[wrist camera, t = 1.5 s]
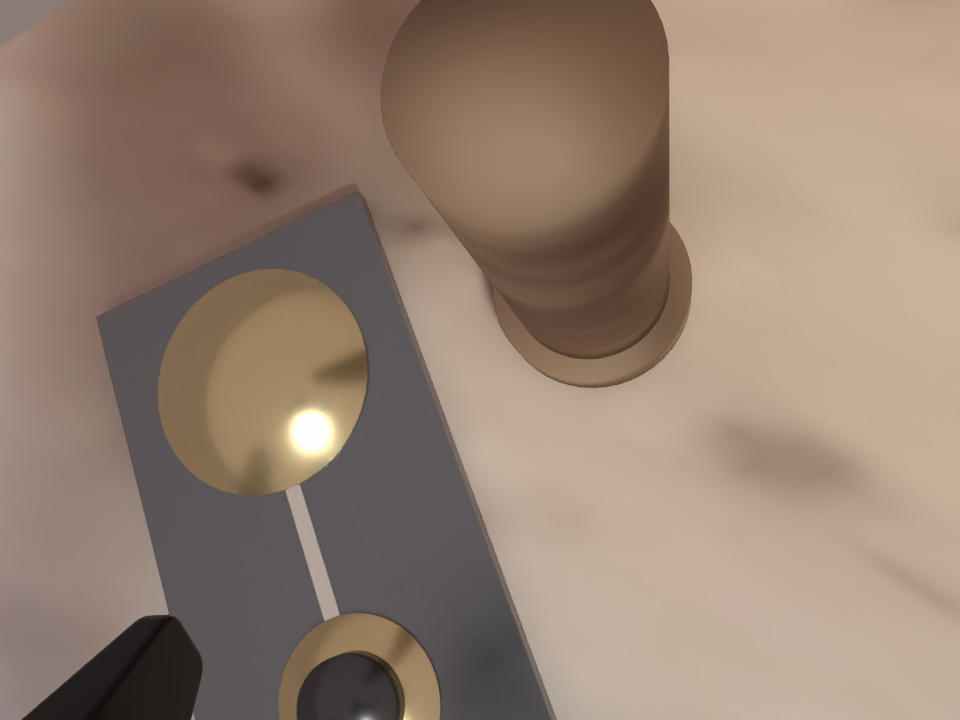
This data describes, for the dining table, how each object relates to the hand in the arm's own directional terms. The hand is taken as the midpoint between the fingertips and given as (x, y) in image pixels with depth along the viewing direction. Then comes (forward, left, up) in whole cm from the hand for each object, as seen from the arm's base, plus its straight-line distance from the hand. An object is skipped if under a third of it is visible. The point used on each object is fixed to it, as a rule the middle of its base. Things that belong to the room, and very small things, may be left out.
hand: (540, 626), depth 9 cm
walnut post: (+6, +5, -13) cm, 15 cm away
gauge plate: (-5, +8, -13) cm, 16 cm away
